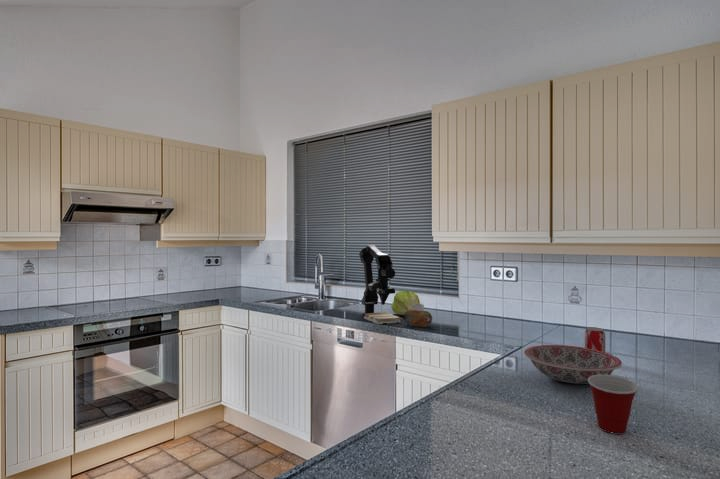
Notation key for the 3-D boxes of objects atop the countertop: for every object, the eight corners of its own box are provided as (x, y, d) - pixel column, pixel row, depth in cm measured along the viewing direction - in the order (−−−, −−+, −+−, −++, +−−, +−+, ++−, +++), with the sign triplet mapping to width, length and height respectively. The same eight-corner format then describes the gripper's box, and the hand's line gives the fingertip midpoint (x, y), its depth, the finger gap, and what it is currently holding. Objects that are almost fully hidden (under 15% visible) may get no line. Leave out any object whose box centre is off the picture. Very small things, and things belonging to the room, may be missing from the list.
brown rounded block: (403, 325, 232) (403, 309, 232) (406, 324, 235) (406, 308, 235) (430, 328, 225) (431, 311, 225) (432, 326, 228) (432, 310, 228)
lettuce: (394, 321, 247) (398, 296, 245) (388, 308, 271) (392, 286, 270) (423, 325, 248) (427, 301, 247) (415, 312, 273) (419, 290, 271)
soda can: (597, 363, 163) (597, 331, 163) (580, 358, 169) (580, 327, 169) (609, 360, 166) (609, 329, 166) (592, 356, 172) (592, 326, 172)
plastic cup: (590, 435, 104) (590, 385, 104) (584, 417, 114) (585, 372, 114) (643, 443, 100) (643, 391, 100) (632, 424, 110) (632, 377, 110)
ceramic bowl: (620, 403, 124) (621, 375, 124) (515, 384, 140) (515, 359, 140) (622, 375, 149) (622, 352, 149) (532, 362, 164) (532, 341, 164)
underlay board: (364, 318, 250) (364, 313, 250) (385, 316, 256) (385, 312, 256) (377, 324, 234) (377, 319, 234) (400, 322, 239) (400, 317, 239)
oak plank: (368, 317, 246) (368, 314, 246) (388, 315, 252) (388, 313, 252) (378, 322, 234) (378, 319, 234) (399, 320, 239) (399, 317, 239)
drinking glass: (419, 324, 233) (419, 306, 233) (409, 322, 238) (409, 304, 237) (426, 322, 238) (426, 304, 238) (416, 321, 243) (416, 303, 242)
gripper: (363, 276, 249) (363, 303, 249) (377, 279, 231) (377, 308, 232) (380, 275, 253) (380, 302, 253) (395, 278, 236) (395, 306, 236)
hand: (382, 304), depth 243 cm, fingers closed
